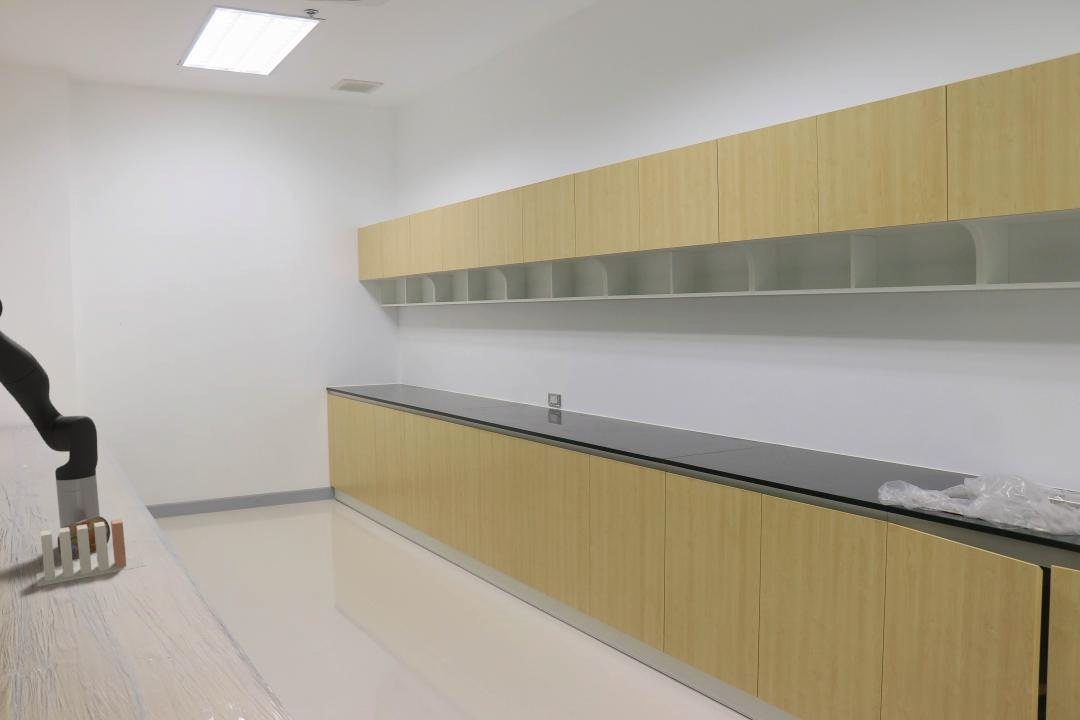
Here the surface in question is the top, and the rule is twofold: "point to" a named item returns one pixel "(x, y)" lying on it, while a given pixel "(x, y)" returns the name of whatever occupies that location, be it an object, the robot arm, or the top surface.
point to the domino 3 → (84, 549)
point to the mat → (130, 563)
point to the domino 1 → (48, 555)
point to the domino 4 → (101, 546)
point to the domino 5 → (118, 542)
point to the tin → (91, 534)
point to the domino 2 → (66, 552)
